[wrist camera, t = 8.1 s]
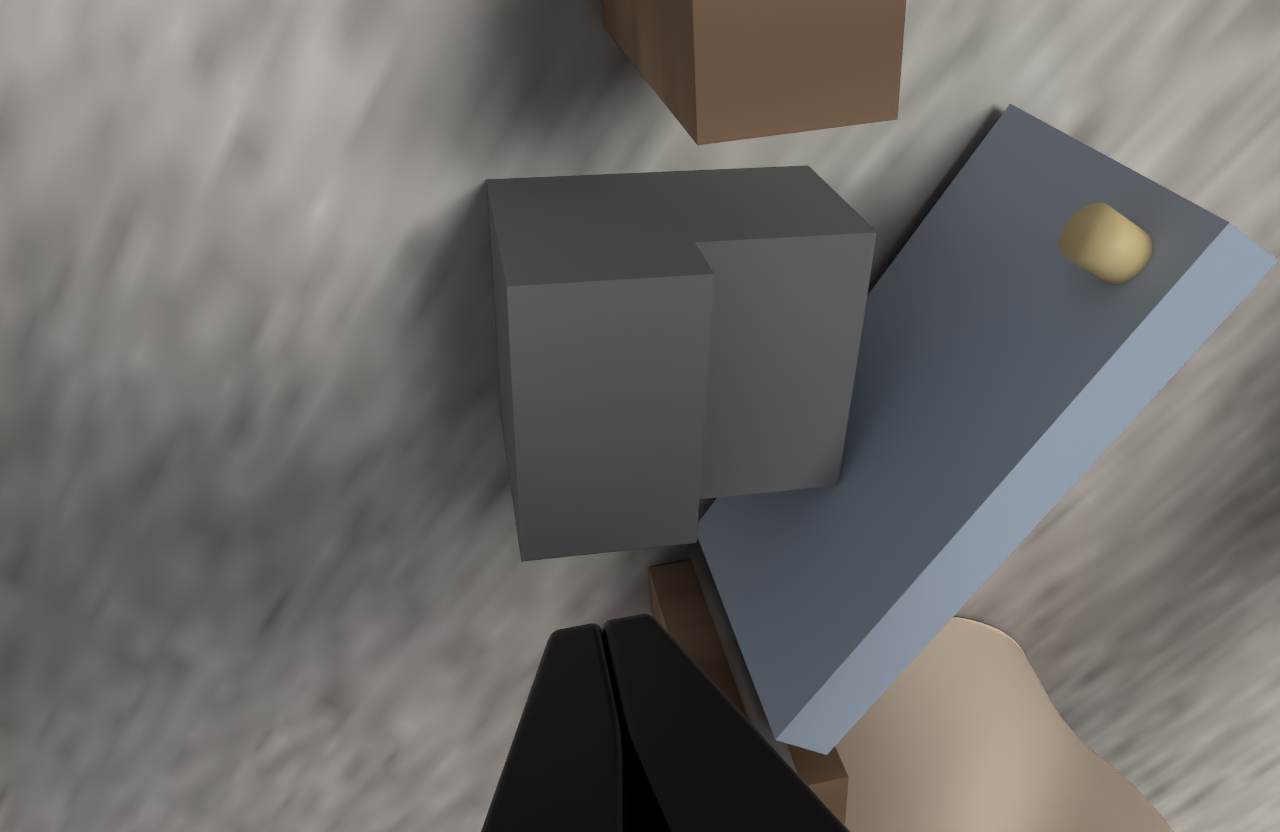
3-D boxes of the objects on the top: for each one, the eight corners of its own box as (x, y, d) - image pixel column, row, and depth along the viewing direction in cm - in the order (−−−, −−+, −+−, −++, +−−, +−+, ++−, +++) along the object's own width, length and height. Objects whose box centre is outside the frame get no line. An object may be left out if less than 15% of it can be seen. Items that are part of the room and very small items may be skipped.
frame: (748, 593, 24) (850, 838, 19) (652, 611, 24) (726, 865, 19) (741, -150, 16) (926, -109, 10) (591, -136, 16) (697, -86, 10)
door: (736, 544, 23) (826, 754, 18) (661, 515, 22) (735, 728, 17) (1052, 135, 19) (1278, 260, 14) (976, 79, 18) (1189, 192, 13)
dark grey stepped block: (780, 390, 22) (861, 525, 18) (500, 413, 21) (521, 561, 17) (806, 163, 19) (908, 262, 15) (485, 176, 18) (506, 286, 14)
